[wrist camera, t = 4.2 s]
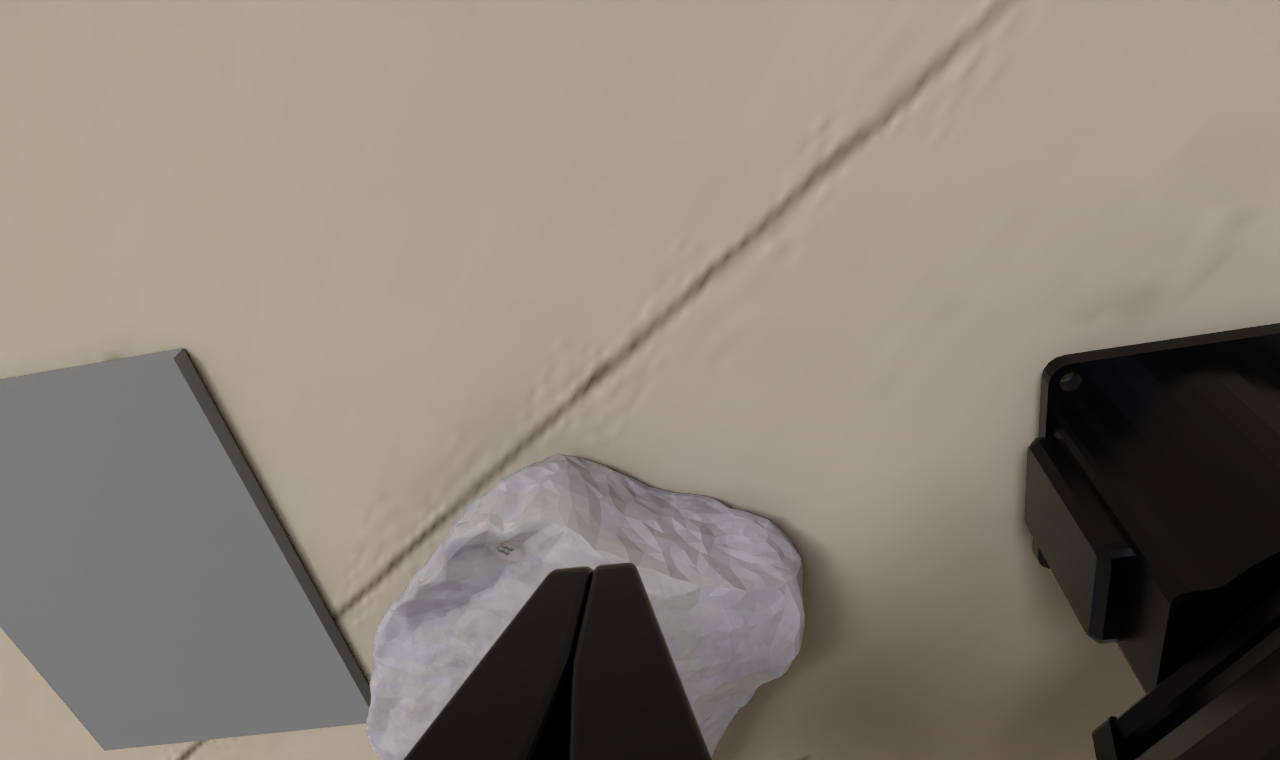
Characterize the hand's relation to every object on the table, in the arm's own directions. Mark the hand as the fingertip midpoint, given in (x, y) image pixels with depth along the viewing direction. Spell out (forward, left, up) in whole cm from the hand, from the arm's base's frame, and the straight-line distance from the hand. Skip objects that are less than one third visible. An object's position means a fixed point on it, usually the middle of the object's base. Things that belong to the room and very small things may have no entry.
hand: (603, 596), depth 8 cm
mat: (+17, +9, -12) cm, 22 cm away
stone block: (+9, +9, -11) cm, 17 cm away
